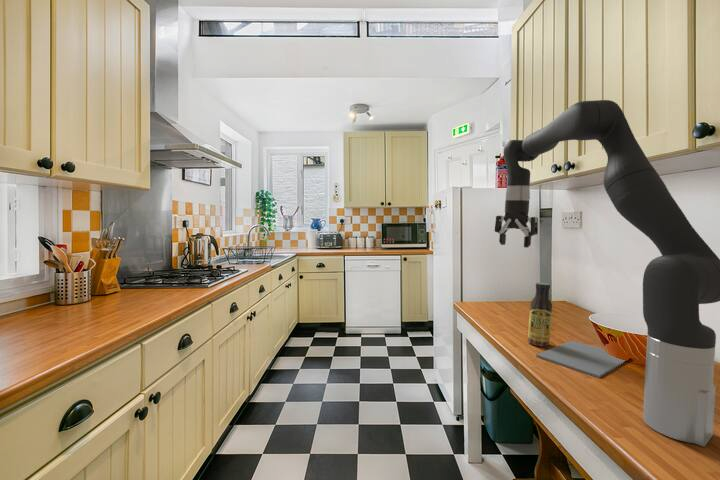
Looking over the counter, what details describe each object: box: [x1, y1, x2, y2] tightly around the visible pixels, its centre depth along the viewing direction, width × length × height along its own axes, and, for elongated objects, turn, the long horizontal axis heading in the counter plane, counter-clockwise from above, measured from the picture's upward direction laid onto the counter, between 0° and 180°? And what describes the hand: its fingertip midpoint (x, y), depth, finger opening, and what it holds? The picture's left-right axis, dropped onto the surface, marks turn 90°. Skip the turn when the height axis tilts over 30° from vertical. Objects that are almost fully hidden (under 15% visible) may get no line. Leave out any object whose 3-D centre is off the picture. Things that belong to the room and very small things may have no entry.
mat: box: [535, 340, 626, 379], centre depth 97 cm, size 16×22×1 cm
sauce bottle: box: [527, 282, 553, 347], centre depth 107 cm, size 6×6×20 cm
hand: (514, 245), depth 117 cm, fingers open, 8 cm apart
